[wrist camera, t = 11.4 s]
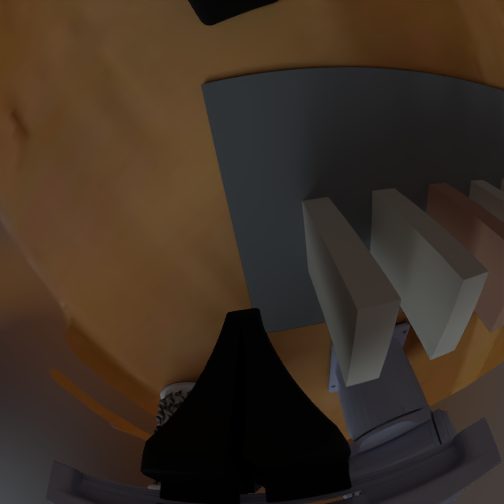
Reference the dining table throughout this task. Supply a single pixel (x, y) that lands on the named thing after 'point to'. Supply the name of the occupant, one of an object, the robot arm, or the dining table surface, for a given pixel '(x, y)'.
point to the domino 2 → (425, 270)
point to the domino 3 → (474, 244)
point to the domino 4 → (488, 197)
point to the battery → (224, 8)
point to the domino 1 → (349, 292)
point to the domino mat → (338, 160)
